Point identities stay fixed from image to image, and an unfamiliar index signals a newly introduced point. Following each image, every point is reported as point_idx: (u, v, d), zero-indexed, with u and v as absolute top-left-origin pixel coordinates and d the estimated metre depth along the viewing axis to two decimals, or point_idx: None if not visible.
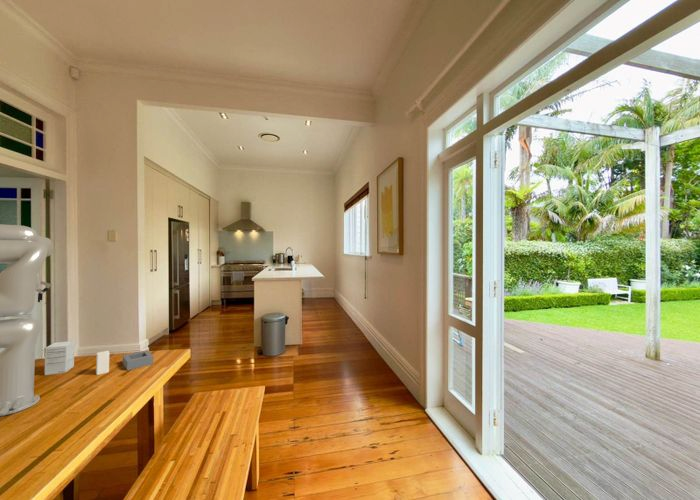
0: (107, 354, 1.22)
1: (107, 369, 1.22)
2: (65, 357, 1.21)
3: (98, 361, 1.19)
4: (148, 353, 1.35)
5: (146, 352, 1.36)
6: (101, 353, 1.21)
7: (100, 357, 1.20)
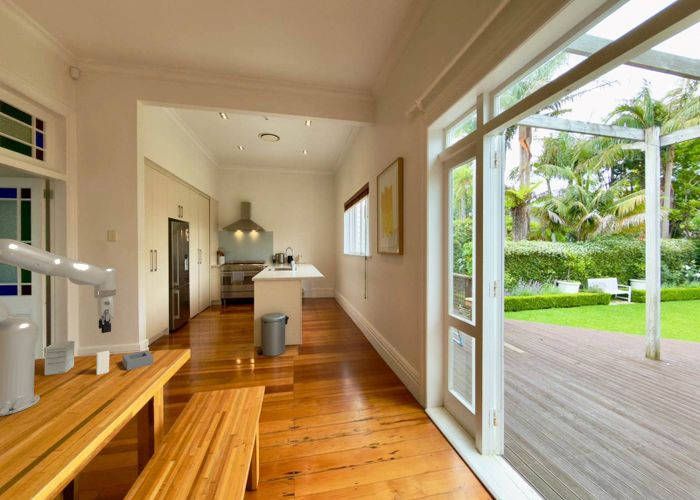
0: (107, 354, 1.22)
1: (107, 369, 1.22)
2: (65, 357, 1.21)
3: (98, 361, 1.19)
4: (148, 353, 1.35)
5: (146, 352, 1.36)
6: (101, 353, 1.21)
7: (100, 357, 1.20)
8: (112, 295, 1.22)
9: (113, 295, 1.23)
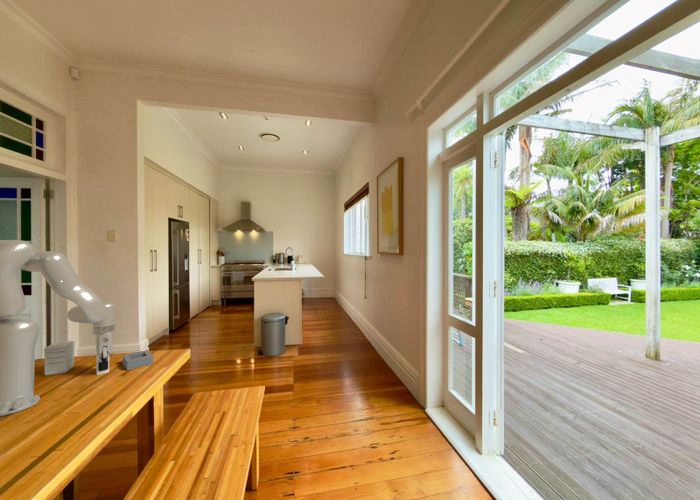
0: None
1: (107, 369, 1.22)
2: (65, 357, 1.21)
3: (98, 361, 1.19)
4: (148, 353, 1.35)
5: (146, 352, 1.36)
6: None
7: None
8: (111, 331, 1.22)
9: (112, 331, 1.22)
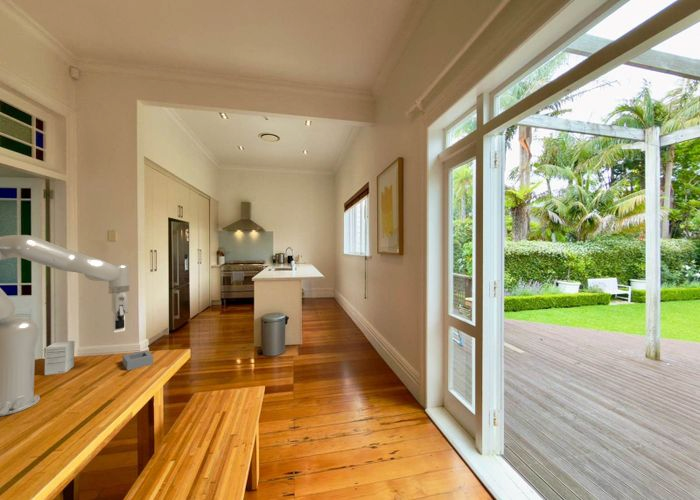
0: None
1: (123, 328, 1.26)
2: (65, 357, 1.21)
3: (115, 319, 1.24)
4: (148, 353, 1.35)
5: (146, 352, 1.36)
6: None
7: None
8: (126, 291, 1.26)
9: (127, 291, 1.27)
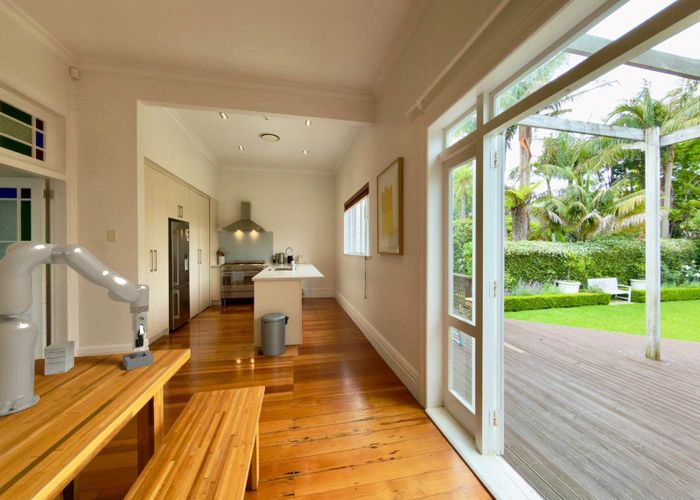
0: None
1: (143, 346, 1.32)
2: (65, 357, 1.21)
3: (135, 338, 1.29)
4: (148, 353, 1.35)
5: (146, 352, 1.36)
6: None
7: None
8: (146, 310, 1.32)
9: (146, 310, 1.32)
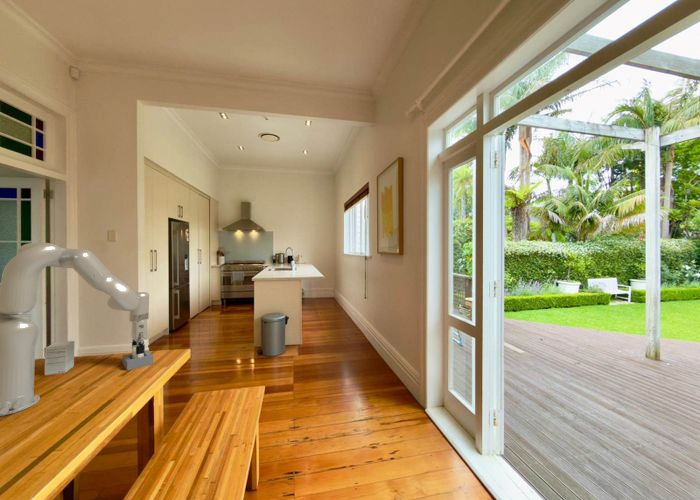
0: None
1: None
2: (65, 357, 1.21)
3: (134, 353, 1.29)
4: (148, 353, 1.35)
5: (146, 352, 1.36)
6: None
7: None
8: (145, 318, 1.32)
9: (146, 318, 1.32)
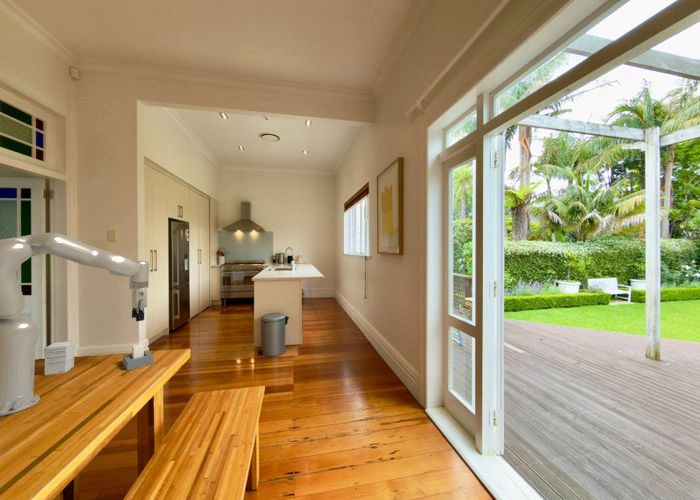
0: (142, 347, 1.31)
1: None
2: (65, 357, 1.21)
3: (134, 353, 1.29)
4: (148, 353, 1.35)
5: (146, 352, 1.36)
6: (136, 346, 1.31)
7: (136, 349, 1.30)
8: (145, 286, 1.32)
9: (146, 286, 1.32)
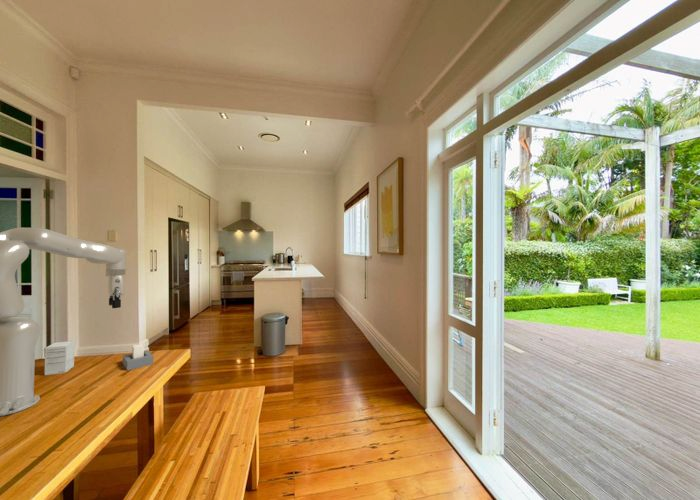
0: (142, 347, 1.31)
1: None
2: (65, 357, 1.21)
3: (134, 353, 1.29)
4: (148, 353, 1.35)
5: (146, 352, 1.36)
6: (136, 346, 1.31)
7: (136, 349, 1.30)
8: (122, 274, 1.33)
9: (123, 274, 1.34)
